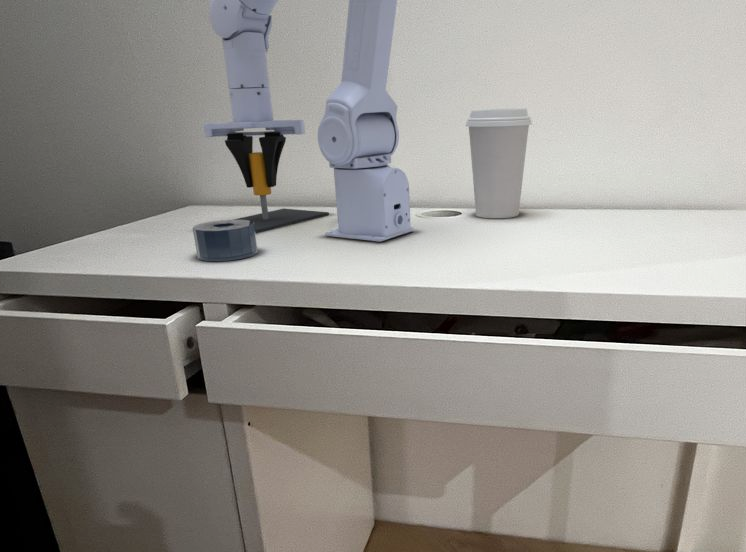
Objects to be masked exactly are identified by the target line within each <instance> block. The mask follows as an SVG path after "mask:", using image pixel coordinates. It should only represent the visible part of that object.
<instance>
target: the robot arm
mask: <svg viewBox="0 0 746 552" xmlns="http://www.w3.org/2000/svg"><path fill="white" fill-rule="evenodd" d="M279 1H280V0H210V2H209V7H208V15H209V21H210V25H211V27H212V29H213V31H214V32H215V34H216V36H218V37H220V38H221V41H222V42H221V44H222V51H223V58H224V63H225V70H226V79H227V85H228V93H229V101H230V109H231V116H232V121H226V122H225V121H224V122H223V121H221V122H205V123H204V122H203V123H202V125H203V132H204V137H205V138H215V137H226V139H225V140H224V143H225V146H226V147H227V149H228V150H229V152H230V153H231V155H232V157H233V159H234V160H235V162H236V164H237V165H238V167H239V169H240V172H241V174H242V177H243V180H244V183H245V186H246V188H249V189H250V188H251V189H252V188H253V184H252V176H251V169H250V161H249V153H254V152H253V143H254V142H253V141H254V138H253V137H254V136H261V137H258V141H259V145H260V149H261V152H262V153H263V157H264V162H265V171H266V181H267V186H268V187H271V188H274V187H276V186H277V178H278V177H277V176H278V169H279V163H280V160H281V156H282V152H283V150H284V147H285V144H286V140H287V137H286V136H285V135H287V136H288V135H295V136H296V135H305V134H306V127H305V120H304V119H286V120H285V119H282V120H281V119H280V120H274V113H273V111H274V110H273V104H272V103H273V102H272V95H271V86H270V85H271V84H270V78H269V77H270V76H269V69H268V68H269V67H268V60H267V53H268V51H269V48H270V46H269V36H270V34H271V30H272V24H273V17H272V15H271V13H272V12H273V10H274V8H275V7H276V5H277V3H278V2H279ZM397 4H398V0H348V7H347V8H348V9H347V19H346V28H345V29H346V30H345V38H344V39H345V40H344V48H343V49H344V50H343V59H342V60H343V61H342V70H341V71H342V72H341V80H340V83H339V85H338V86H337V87H336V88H335V89H334V90H333V91H332V92H331V94H330V95H329V96H328V97H327V98H326V101H325V110H324V114H323V116H322V118H321V121H320V122H319V125H318V128H317V142H318V143H317V144H318V147H319V150H320V152H321V154H322V156H323V158H324V159H325V160H326V161H327V162H328V165H329V169H330V168H331V169H333V178H334V189H335V190H334V191H335V203H336V215H337V217H336V218H337V227H338V228H335V229H332V230H328V231H325V232H324V236H326V237H334V238H343V239H353V240H362V241H363V240H364V241H371V242H384V241H387V240H390V239H392V238H393V239H394V238H396V237H399V236H402V235H405V234H408V233H411V232H413V231H415V228H414V226H411V202H410V199H411V198H410V185H409V179H408V177H407V174H406V173H405V171H403V170H402V169H401V168H397V167H391V166H390V165H389V164H392V155H394V153H395V152H396V151H397V148H398V146H399V140H400V133H399V127H398V122H397V114H398V113H397V112H398V105H397V103H396V102H395V100H394V99H393V98H392V96H391V95H390V94H389V92H388V91H387V81H388V75H389V74H388V73H389V67H390V66H389V65H390V59H391V51H392V44H393V35H394V28H395V19H396V13H397V6H398V5H397ZM245 129H265V131H244V130H245Z"/></svg>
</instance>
